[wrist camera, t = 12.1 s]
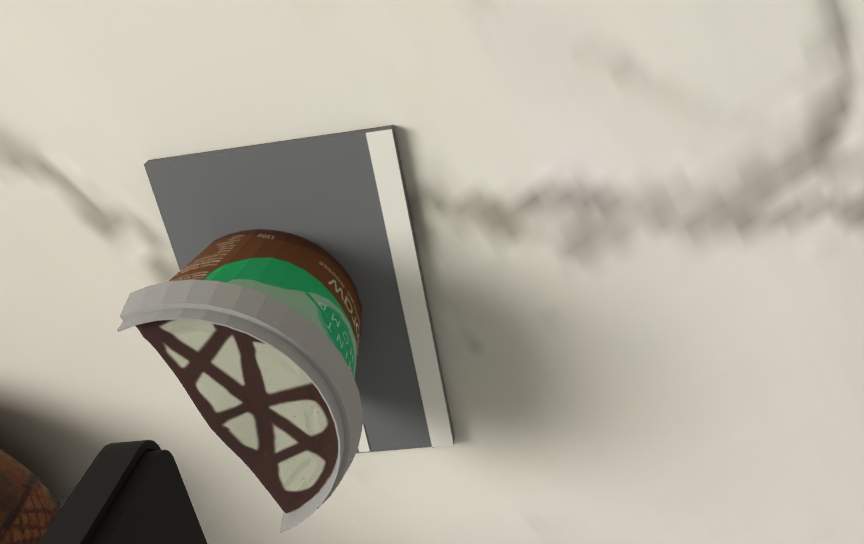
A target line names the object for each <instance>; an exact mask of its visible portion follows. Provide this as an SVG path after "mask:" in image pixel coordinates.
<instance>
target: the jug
mask: <svg viewBox="0 0 864 544" xmlns="http://www.w3.org/2000/svg"><path fill="white" fill-rule="evenodd" d="M59 511H60V510H59V508H58V505H57V503H56V501H55V499H54V497H53V496H52V494H51V493H50V491H49V489H48V488H47V487H46V486H45V485H44V484H43V483H42V482H41V480H40V479H39V478H38V477H36V476H35V475H34V474H33V473H32V472H31V471H30V470H29V469H28V468H27V467H26V466H24V465H23V464H22V463H20V462H19V461H17V460H16V459H14V458H13V457H11V456H10V455H8V454H7V453H5V452H4V451H2V450H1V449H0V544H38V542H39V541H40V539H41V538H42V536H43V535H44V534H45V532H46V531H47V529H48V528H49V526H50V525H51V523H52V522H53V520H54V519H55V517H56V516H57V514H58V513H59Z"/></svg>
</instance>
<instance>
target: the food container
mask: <svg viewBox="0 0 864 544" xmlns="http://www.w3.org/2000/svg"><path fill="white" fill-rule="evenodd" d="M120 317H121V318H122V319H123V322H122V324H121V325H120V327H119V328H118V330H117V331H118V332H119V331H122V330H125V329H127V328H130V327H132V326H136V327H137V328H138V329H139V331H140V332H141V334H142V336H143V337H144V338H145V339H146V340H147V341H148V342H150V344H151V345H152V346H153V347H154V348H155V349H156V350H157V351H158V353H159V354H160V355H161V357H162V358H163V359H164V360H165V362H166V363H167V364H168V366H169V367H170V368H171V369H172V371H173V372H174V373H175V375H176V376H177V378H178V379H179V381H180V382H181V384H182V385H183V387H184V388H185V390H186V391H187V393H188V395H189V396H190V398H191V399H192V401H193V402H194V404H195V406H196V407H197V409H198V410H199V412H200V413H201V415H202V416H203V417H204V419H205V420H206V422H207V423H208V425H209V426H210V428H211V429H212V430H213V431H214V432H215V433H216V434H217V435H218V436H219V437H220V439H221V440H222V441H223V442H224V443H225V444H226V445H227V446H228V447H229V448H230V449H231V450H232V451H233V452H234V453H235V454H236V455H238V456H239V457H240V458H241V459H242V460H243V462H244V463H245V464H246V465H247V466H248V467H249V468H250V469H251V470H252V472H253V473H254V474H255V475H256V477H257V478H258V479H259V480H260V482H261V483H262V484H263V485H264V487H265V488H266V489H267V490H268V492H269V493H270V494H271V495H272V497H273V498H274V499H275V500H276V502H277V503H278V504H279V506H280V507H281V508H282V510H283V511H284V515H283V519H282V524H281V528H280V532H283V531H285V530H287V529H289V528H292V527H294V526H296V525H297V524H299V523H300V522H302V521H303V520H304V519H306V518H307V517H309V516H310V515H311V514H312V513H313V512H314V511H315V510H316V509H318V508H319V507H320V506H321V505H322V504H323V503H324V502H325V501H326V500H327V499H328V498H329V497H330V496H331V494H332V493H333V491H334V490H335V489H336V487H337V486H338V484H339V483H340V481H341V479H342V478H343V476H344V474H345V473H346V471H347V469H348V468H349V466H350V464H351V463H352V461H353V458H354V456H355V454H356V451H357V449H358V446H359V442H360V437H361V432H362V405H361V400H360V395H359V390H358V388H357V385H356V382H355V380H354V378H355V371H356V364H357V357H358V350H359V343H360V337H361V323H362V305H361V302H360V299H359V295H358V292H357V289H356V286H355V284H354V283H353V281H352V279H351V277H350V275H349V274H348V273H347V271H346V270H345V269H344V267H343V266H342V265H341V264H340V263H339V262H338V261H337V260H336V259H335V258H334V257H333V256H332V255H331V254H330V253H328V252H327V251H325V250H324V249H323V248H321V247H320V246H318V245H317V244H315V243H313V242H311V241H309V240H307V239H305V238H302V237H299V236H297V235H294V234H291V233H287V232H282V231H277V230H266V229H254V230H243V231H239V232H235V233H231V234H228V235H226V236H223V237H221V238H218V239H216V240H214V241H213V242H212V243H211V244H210V245H209V246H208V247H206V248H205V249H204V250H203V251H202V252H201V253H200V254H199V255H198V256H196V257H195V258H194V259H193V260H192V261H191V262H190V263H189V264H187V265H186V266H185V267H184V268H183V269H182V270H181V271H180V272H178V273H177V274H176V275H175V276H174V277H173V278H172V279H171V280H169V281H168V282H165V283H160V284H156V285H151V286H148V287H145V288H143V289H140V290H138V291H135V292H133V293H130V295H129V297H128V299H127V302H126V304H125V306H124V308H123V311H122V313H121V315H120Z"/></svg>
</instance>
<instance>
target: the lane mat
mask: <svg viewBox="0 0 864 544" xmlns="http://www.w3.org/2000/svg"><path fill="white" fill-rule="evenodd" d="M144 166H145V169H146V172H147V175H148V178H149V181H150V184H151V187H152V190H153V192H154V195H155V198H156V201H157V204H158V207H159V210H160V213H161V216H162V219H163V222H164V225H165V228H166V231H167V233H168V236H169V239H170V242H171V245H172V248H173V251H174V254H175V257H176V260H177V263H178V266H179V269H180V271H181V270H182V269H183V268H184V267H185V266H186V265H187V264H189V263H190V262H191V261H192V260H193V259H194V258H195V257H196V256H198V255H199V254H200V253H201V252H202V251H203V250H204V249H205V248H206V247H208V246H209V245H210V244H211V243H212V242H213V241H214V240H216V239H218V238H221V237H223V236H226V235H228V234H231V233H235V232H239V231H243V230H254V229H266V230H277V231H282V232H287V233H291V234H294V235H297V236H299V237H302V238H305V239H307V240H309V241H311V242H313V243H315V244H317V245H318V246H320V247H321V248H323V249H324V250H325V251H327V252H328V253H330V254H331V255H332V256H333V257H334V258H335V259H336V260H337V261H338V262H339V263H340V264H341V265H342V266H343V267H344V269H345V270H346V271H347V273H348V274H349V275H350V277H351V279H352V281H353V283H354V284H355V286H356V289H357V292H358V295H359V299H360V302H361V305H362V323H361V337H360V343H359V350H358V357H357V364H356V371H355V378H354V380H355V382H356V385H357V388H358V390H359V395H360V400H361V405H362V432H361V437H360V442H359V446H358V449H357V451H356V453H363V452H375V451H387V450H398V449H410V448H422V447H432V448H433V447H445V446H454V433H453V428H452V423H451V418H450V412H449V407H448V402H447V397H446V392H445V387H444V382H443V377H442V372H441V366H440V361H439V356H438V351H437V346H436V341H435V336H434V331H433V325H432V320H431V315H430V310H429V305H428V300H427V295H426V290H425V284H424V279H423V274H422V269H421V264H420V259H419V254H418V249H417V244H416V238H415V233H414V228H413V223H412V218H411V213H410V208H409V203H408V197H407V192H406V187H405V182H404V177H403V172H402V167H401V162H400V157H399V151H398V146H397V141H396V136H395V131H394V126H393V125H390V126H383V127H376V128H370V129H363V130H356V131H349V132H342V133H335V134H328V135H321V136H314V137H307V138H300V139H293V140H286V141H279V142H272V143H265V144H258V145H251V146H244V147H237V148H230V149H223V150H216V151H209V152H202V153H195V154H188V155H181V156H174V157H167V158H160V159H153V160H148V161H147V162H146V163H145V164H144Z"/></svg>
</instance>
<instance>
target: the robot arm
mask: <svg viewBox="0 0 864 544" xmlns="http://www.w3.org/2000/svg"><path fill="white" fill-rule="evenodd" d="M38 544H207V542H206V539H205V537H204V534H203V532H202V529H201V527H200V524H199V521H198V519H197V516H196V514H195V511H194V509H193V506H192V503H191V501H190V498H189V496H188V493H187V491H186V488H185V485H184V483H183V480H182V478H181V475H180V473H179V470H178V467H177V465H176V462H175V460H174V458H173V456H172V454H171V453H170V452H169V451H167V450H161V449H160V447H159V445H158V444H157V443H156V442H154V441H151V440H143V441H132V442H121V443H111V444H108V445H106V446H105V447H104V448H103V449H102V450H101V451H100V452H99V454H98V455H97V457H96V458H95V460H94V461H93V463H92V464H91V466H90V467H89V469H88V470H87V472H86V473H85V474H84V476H83V477H82V479H81V480H80V482H79V483H78V485H77V486H76V488H75V489H74V491H73V492H72V494H71V495H70V497H69V498H68V500H67V501H66V503H65V504H64V505H63V507H62V508H61V510H60V511H59V513H58V514H57V516H56V517H55V519H54V520H53V522H52V523H51V525H50V526H49V528H48V529H47V531H46V532H45V534H44V535H43V536H42V538H41V539H40V541H39V542H38Z"/></svg>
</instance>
